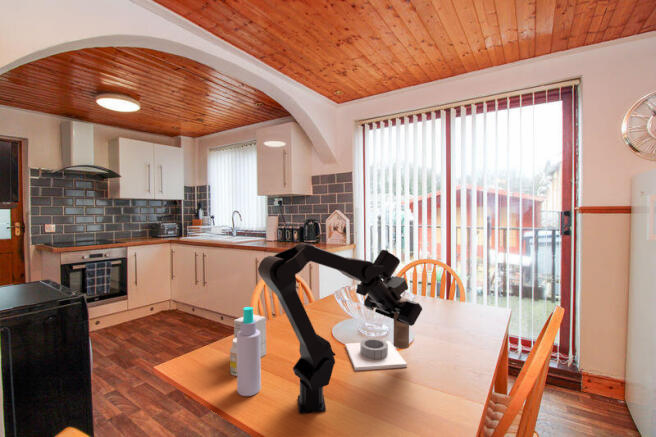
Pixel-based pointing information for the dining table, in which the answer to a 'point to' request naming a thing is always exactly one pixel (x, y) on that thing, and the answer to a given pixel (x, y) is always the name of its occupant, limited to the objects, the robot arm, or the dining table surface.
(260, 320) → the supplement box
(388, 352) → the socket base plate
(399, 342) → the walnut shaft
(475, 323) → the dining table surface
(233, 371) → the supplement bottle
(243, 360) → the spray bottle
